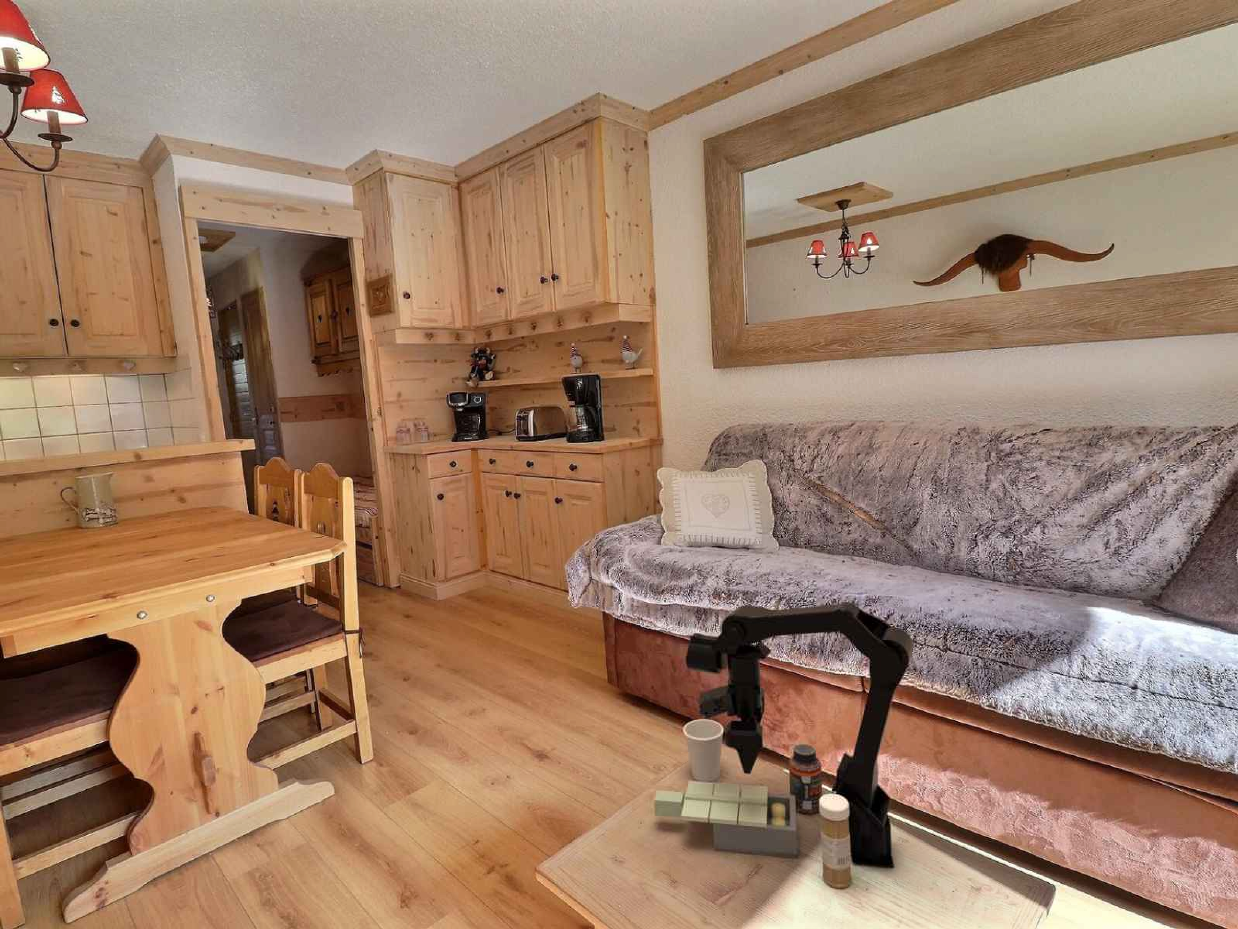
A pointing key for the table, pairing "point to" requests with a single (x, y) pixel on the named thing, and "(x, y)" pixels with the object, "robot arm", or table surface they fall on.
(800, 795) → the supplement bottle
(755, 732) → the robot arm
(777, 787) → the table surface
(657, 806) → the lid
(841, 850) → the sprinkles bottle
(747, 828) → the tub
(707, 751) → the dixie cup
